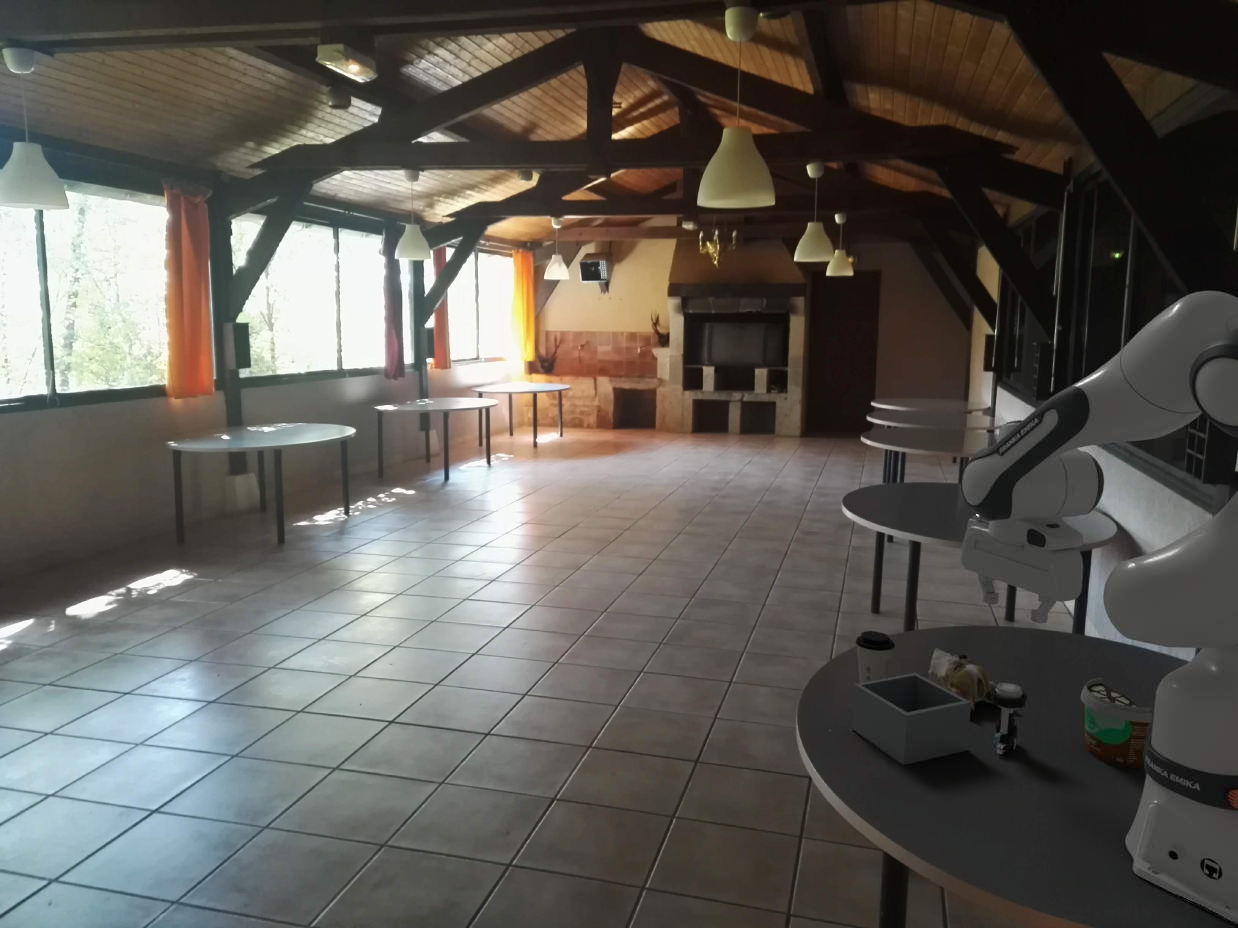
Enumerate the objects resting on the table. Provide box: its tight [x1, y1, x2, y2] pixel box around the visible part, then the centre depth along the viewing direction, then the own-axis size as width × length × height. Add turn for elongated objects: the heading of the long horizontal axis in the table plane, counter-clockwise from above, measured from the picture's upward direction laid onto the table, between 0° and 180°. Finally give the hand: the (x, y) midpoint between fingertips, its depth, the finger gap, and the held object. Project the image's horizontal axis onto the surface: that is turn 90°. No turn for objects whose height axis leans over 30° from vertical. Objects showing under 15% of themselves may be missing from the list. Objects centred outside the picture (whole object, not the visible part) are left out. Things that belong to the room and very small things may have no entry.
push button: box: [990, 682, 1028, 755], centre depth 137 cm, size 7×5×10 cm
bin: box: [851, 672, 971, 766], centre depth 140 cm, size 13×13×8 cm
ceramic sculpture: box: [927, 647, 997, 712], centre depth 156 cm, size 11×9×15 cm
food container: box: [1080, 677, 1153, 769], centre depth 136 cm, size 12×6×10 cm, turn 5°
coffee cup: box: [855, 630, 896, 683], centre depth 161 cm, size 7×7×10 cm
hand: (1013, 612), depth 135 cm, fingers open, 8 cm apart
